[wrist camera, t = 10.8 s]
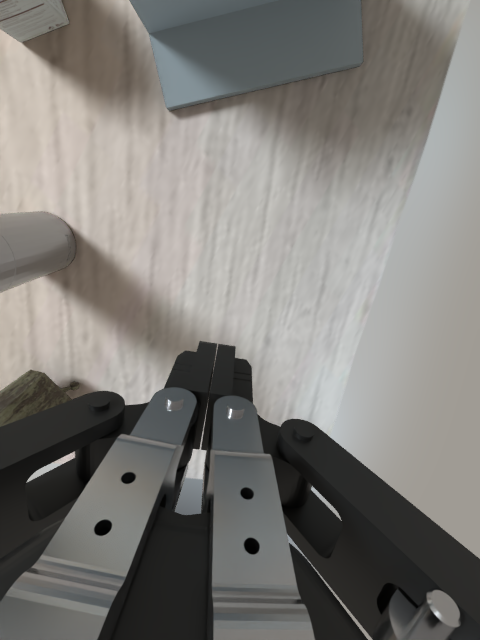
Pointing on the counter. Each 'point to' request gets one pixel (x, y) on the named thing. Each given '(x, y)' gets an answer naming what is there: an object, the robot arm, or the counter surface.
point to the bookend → (247, 44)
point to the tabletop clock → (31, 396)
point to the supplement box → (31, 17)
